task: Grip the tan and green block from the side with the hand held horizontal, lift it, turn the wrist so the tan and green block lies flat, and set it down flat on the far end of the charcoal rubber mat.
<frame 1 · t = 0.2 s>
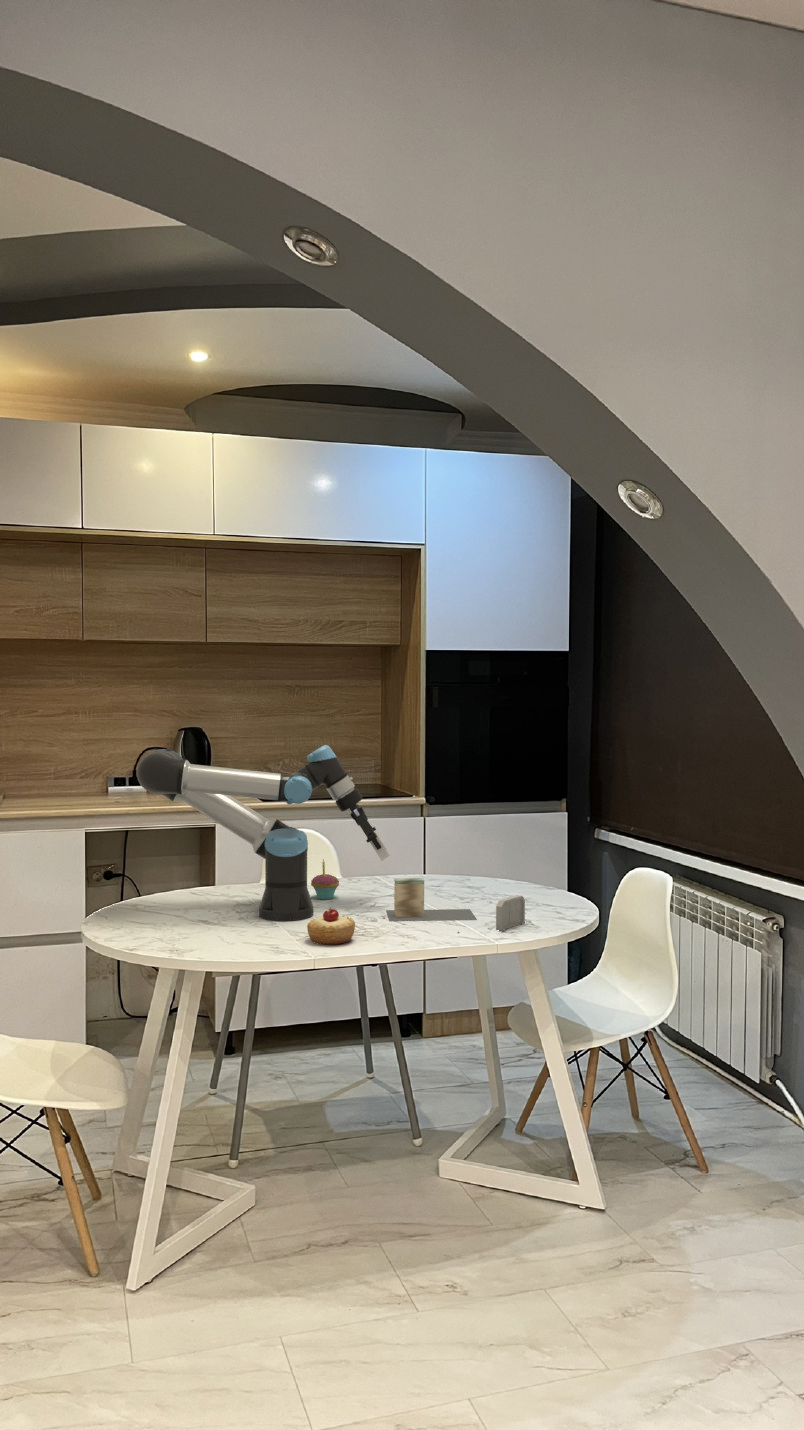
hand: (384, 855, 308), 15 cm above the table, tool tilted 35°, fingers open, 13 cm apart
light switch: (510, 927, 281), on the table
cupcake: (324, 898, 319), on the table
mat: (430, 917, 292), on the table
tan and green block: (409, 915, 292), point 1 cm above the table, touching mat
pastry: (331, 941, 265), on the table
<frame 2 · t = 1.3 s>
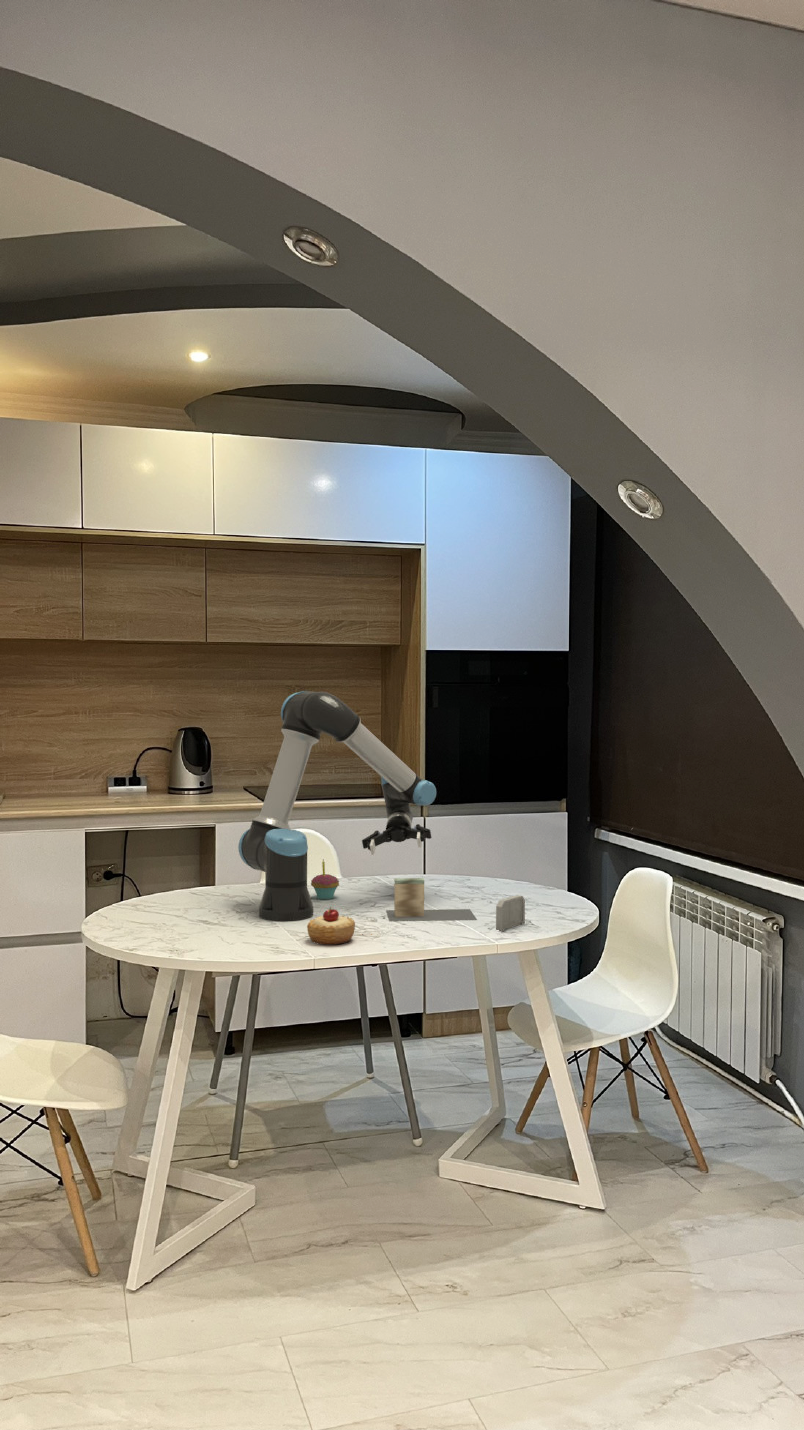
hand: (395, 846, 300), 18 cm above the table, tool horizontal, fingers open, 13 cm apart
nothing on the table moved.
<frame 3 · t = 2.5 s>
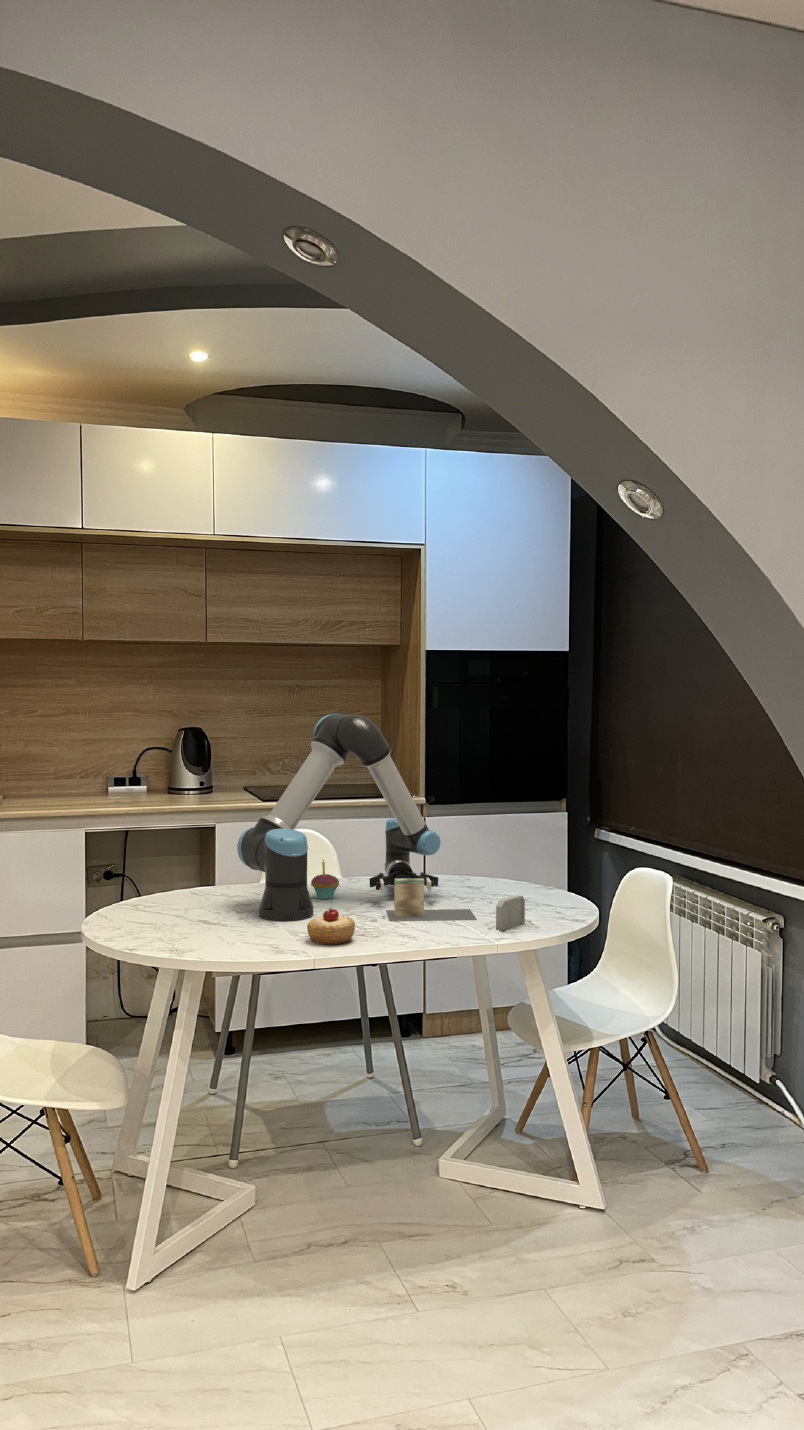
hand: (406, 887, 301), 6 cm above the table, tool horizontal, fingers open, 13 cm apart
nothing on the table moved.
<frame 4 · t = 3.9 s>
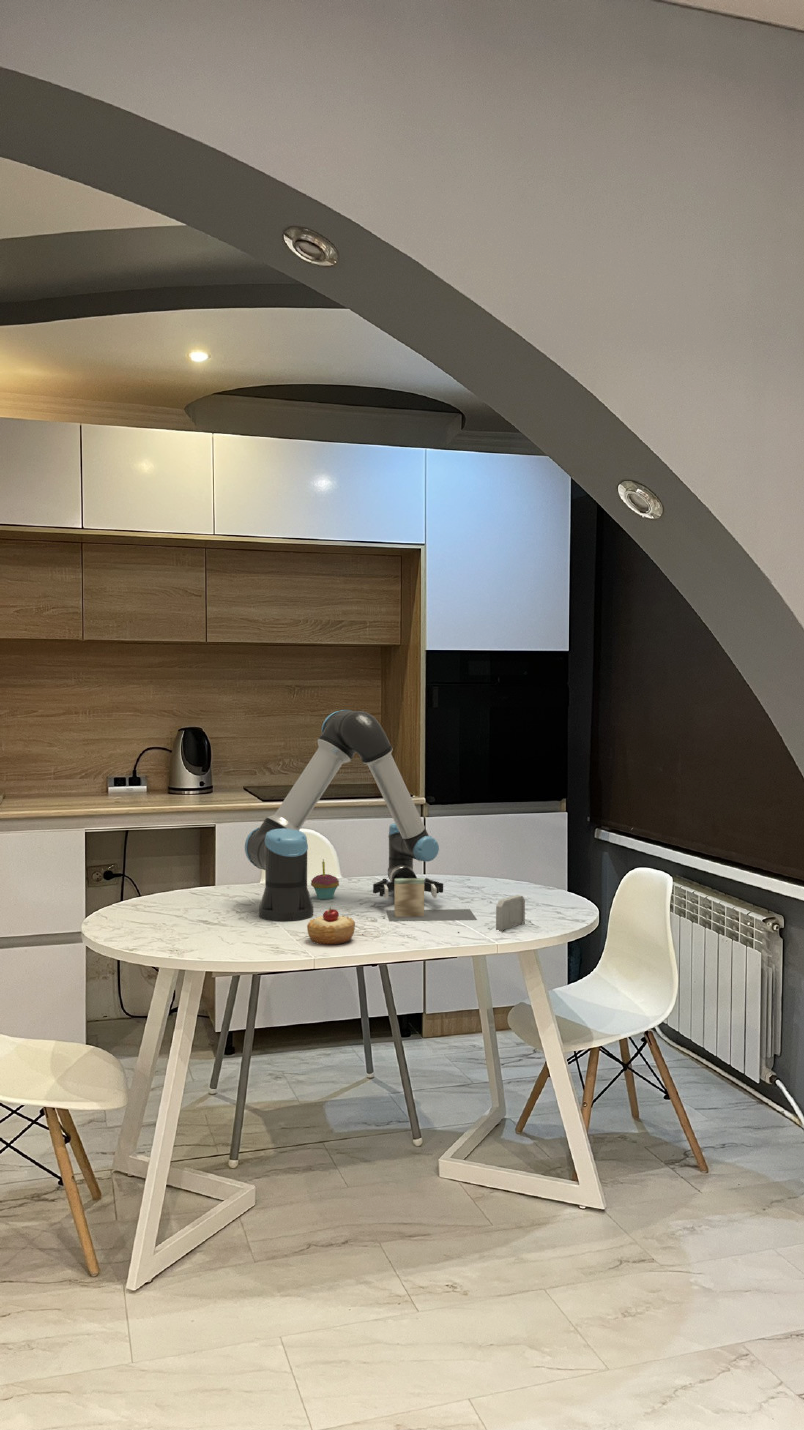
hand: (411, 893, 294), 6 cm above the table, tool horizontal, fingers open, 13 cm apart
nothing on the table moved.
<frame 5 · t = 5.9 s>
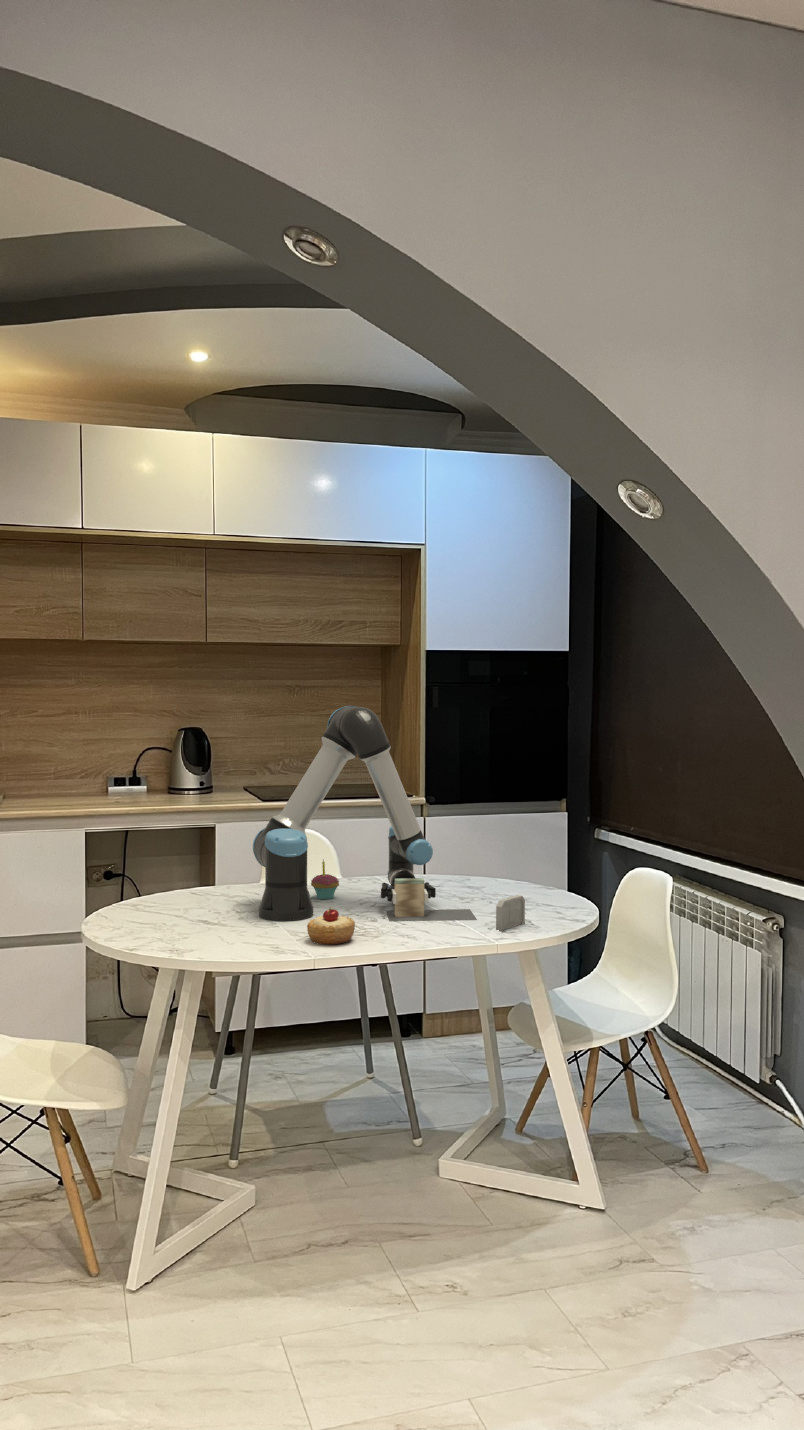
hand: (410, 898, 287), 6 cm above the table, tool horizontal, fingers closed on tan and green block, 8 cm apart
tan and green block: (409, 915, 292), point 1 cm above the table, touching gripper, mat
everything else where it was.
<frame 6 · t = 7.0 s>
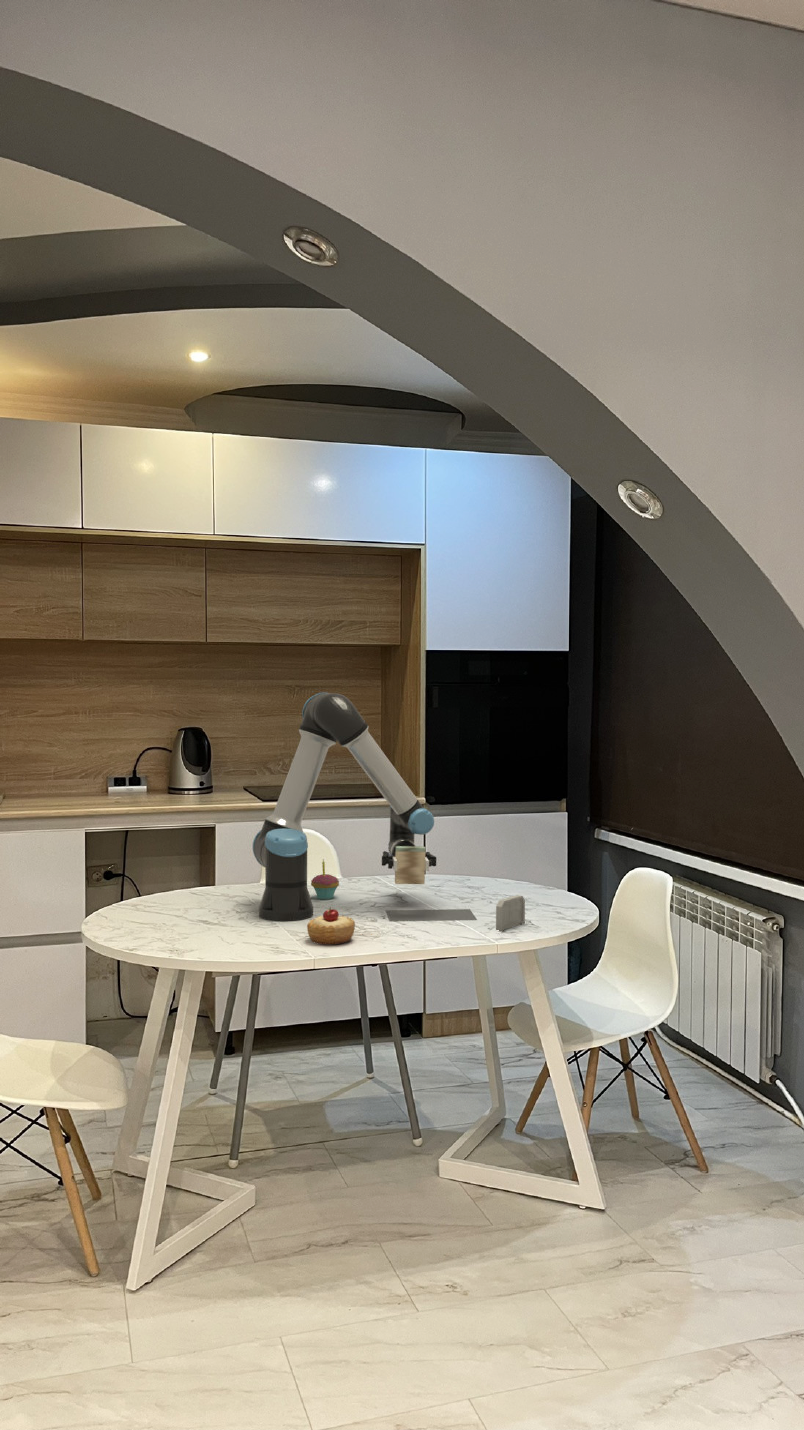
hand: (411, 865, 287), 15 cm above the table, tool horizontal, fingers closed on tan and green block, 8 cm apart
tan and green block: (409, 883, 291), point 10 cm above the table, touching gripper
everything else where it was.
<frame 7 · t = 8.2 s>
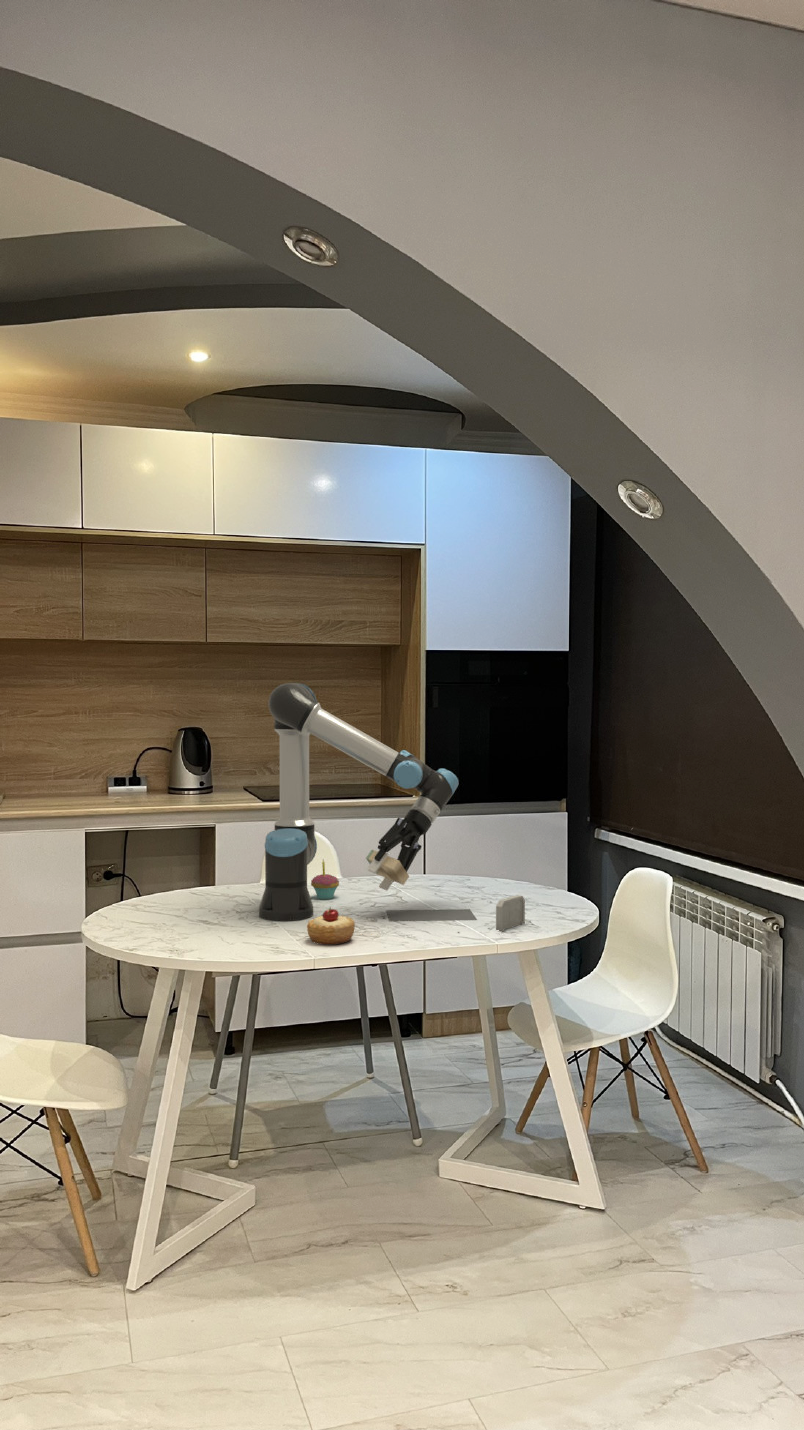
hand: (377, 879, 290), 11 cm above the table, tool tilted 45°, fingers closed on tan and green block, 8 cm apart
tan and green block: (401, 872, 288), point 13 cm above the table, tilted 79°, touching gripper
everything else where it was.
when the fingers open (2 cm above the table, at t = 12.3 s): tan and green block drops 4 cm, resting on mat.
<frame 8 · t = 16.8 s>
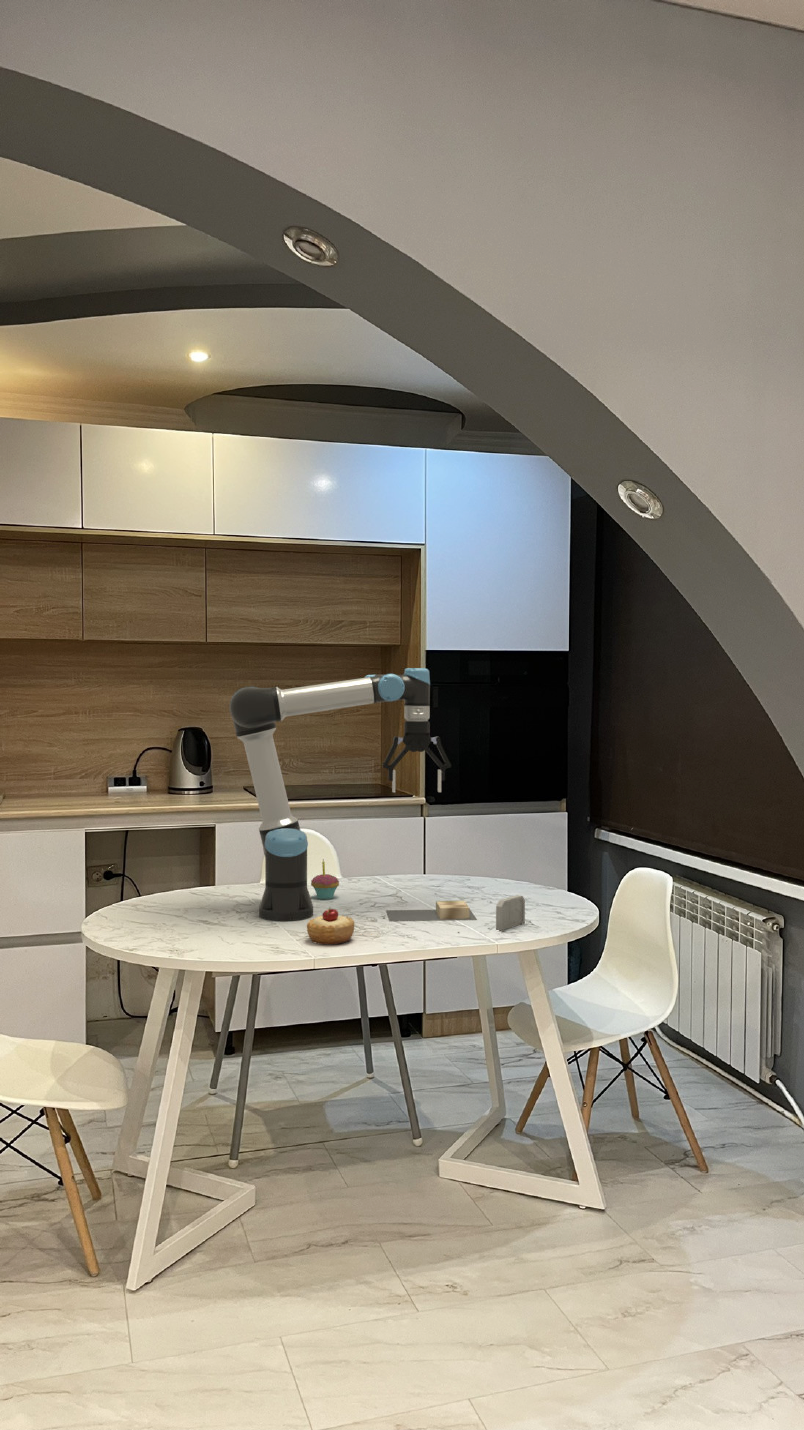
hand: (416, 792, 312), 33 cm above the table, tool pointing down, fingers open, 13 cm apart
tan and green block: (454, 913, 287), point 2 cm above the table, tilted 90°, touching mat
everything else where it was.
at the end: tan and green block tilted 90°; tan and green block inside the target area (5.9 cm from its centre), point 2.1 cm above the table; the gripper is holding nothing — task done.
